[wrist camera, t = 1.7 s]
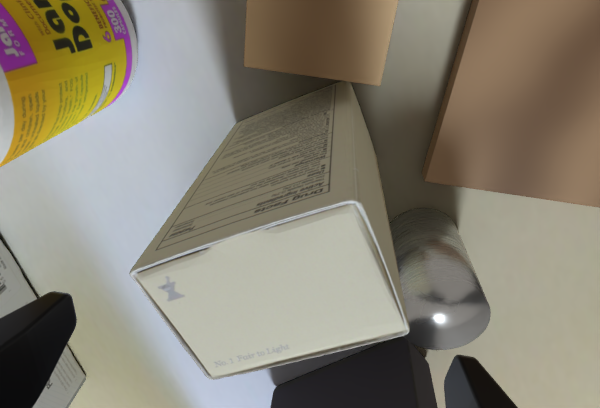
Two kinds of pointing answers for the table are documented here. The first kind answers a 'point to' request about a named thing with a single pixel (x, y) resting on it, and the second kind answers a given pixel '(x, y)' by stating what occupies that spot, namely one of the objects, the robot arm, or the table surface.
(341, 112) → the skincare box
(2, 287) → the hard drive box
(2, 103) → the supplement bottle
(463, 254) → the metal canister
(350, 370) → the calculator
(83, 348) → the table surface
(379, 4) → the oak block
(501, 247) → the table surface
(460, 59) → the walnut board
